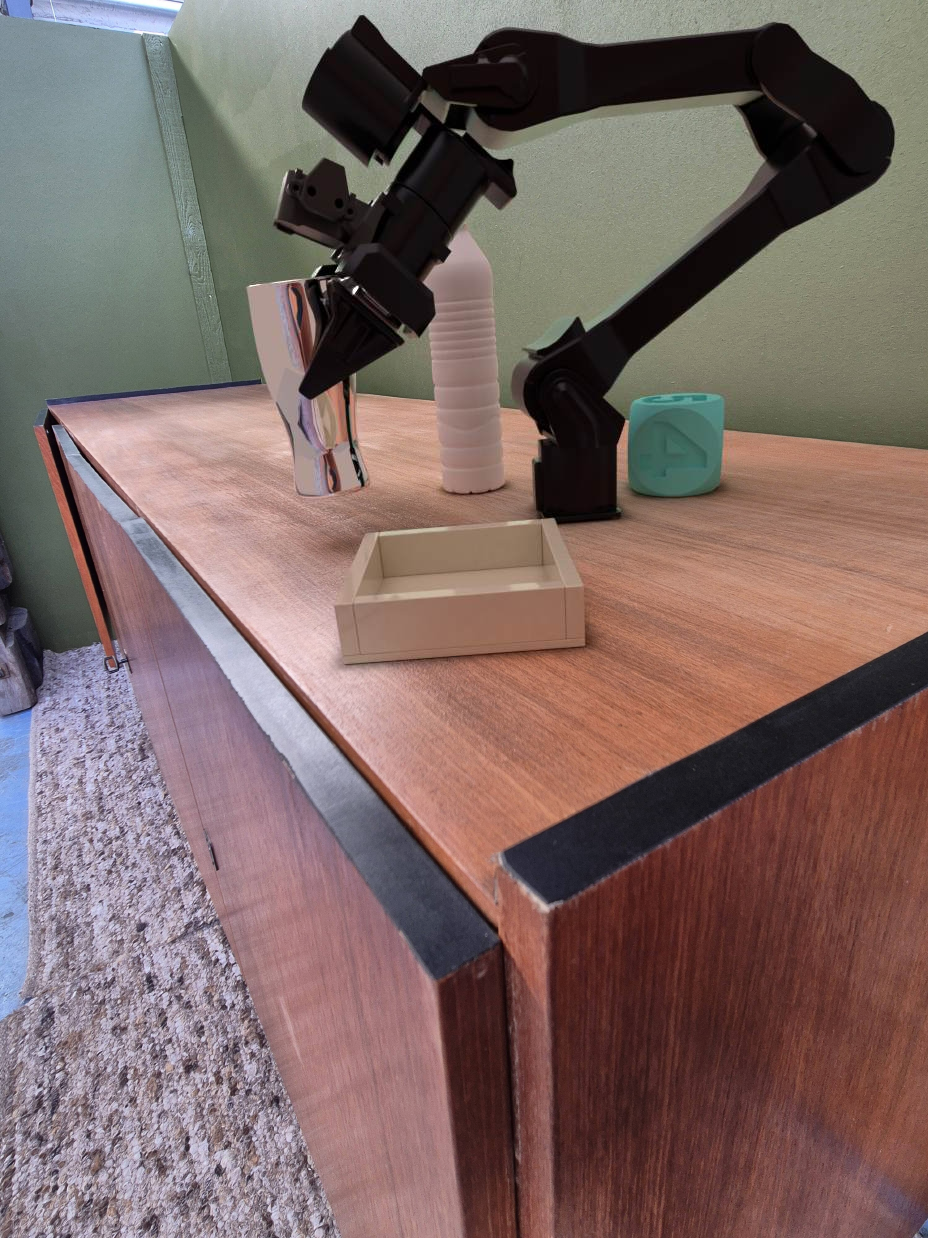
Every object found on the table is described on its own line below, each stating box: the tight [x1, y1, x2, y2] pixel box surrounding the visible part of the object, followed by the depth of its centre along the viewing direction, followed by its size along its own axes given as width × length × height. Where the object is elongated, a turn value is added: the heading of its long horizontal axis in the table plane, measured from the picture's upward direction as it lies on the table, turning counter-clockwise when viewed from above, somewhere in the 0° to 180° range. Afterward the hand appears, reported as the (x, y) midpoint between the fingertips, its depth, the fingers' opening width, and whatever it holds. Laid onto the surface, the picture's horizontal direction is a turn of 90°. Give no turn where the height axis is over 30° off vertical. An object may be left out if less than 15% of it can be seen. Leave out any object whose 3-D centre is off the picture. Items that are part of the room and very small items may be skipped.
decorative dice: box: [627, 392, 725, 498], centre depth 66 cm, size 8×8×8 cm
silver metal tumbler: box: [245, 276, 372, 500], centre depth 53 cm, size 7×7×15 cm
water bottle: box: [423, 221, 506, 494], centre depth 69 cm, size 9×6×25 cm
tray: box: [333, 518, 586, 665], centre depth 43 cm, size 13×13×4 cm
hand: (297, 392), depth 53 cm, fingers closed on silver metal tumbler, 7 cm apart
